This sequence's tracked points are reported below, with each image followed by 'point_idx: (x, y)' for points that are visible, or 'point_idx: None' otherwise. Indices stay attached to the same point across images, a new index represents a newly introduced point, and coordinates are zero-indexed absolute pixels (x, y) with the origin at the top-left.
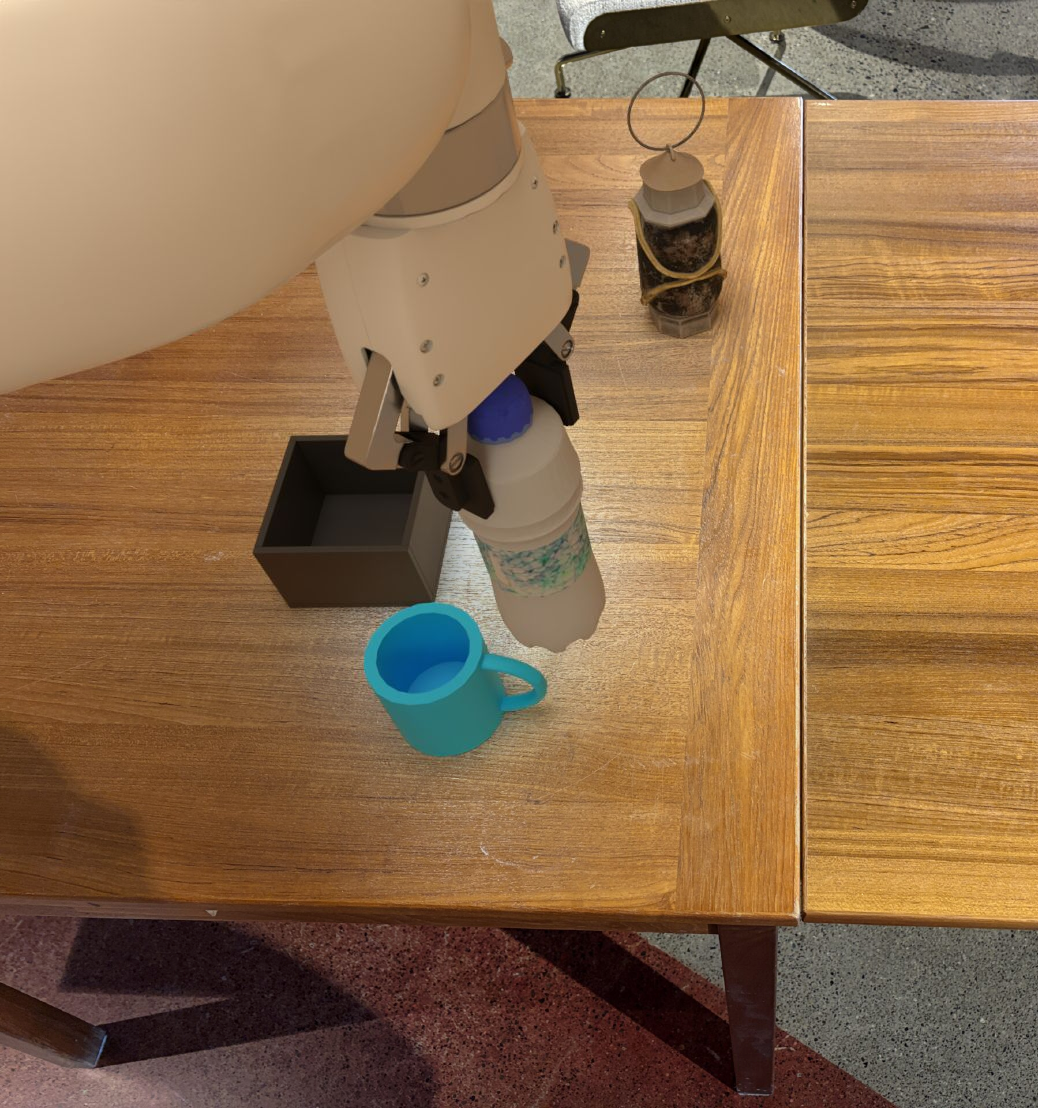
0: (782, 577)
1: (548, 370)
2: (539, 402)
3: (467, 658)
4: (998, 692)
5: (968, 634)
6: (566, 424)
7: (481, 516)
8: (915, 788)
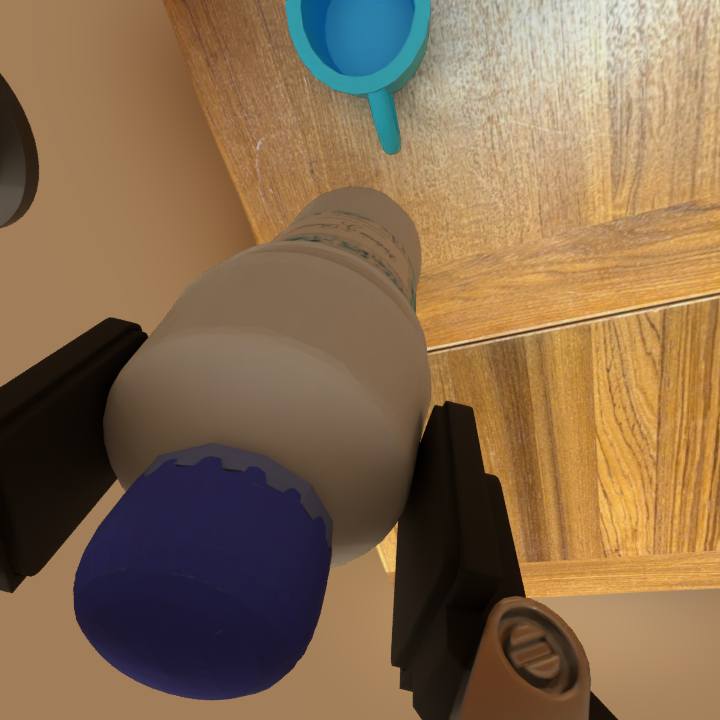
0: (576, 306)
1: (400, 655)
2: (375, 530)
3: (365, 76)
4: (489, 458)
5: (534, 439)
6: None
7: None
8: None
